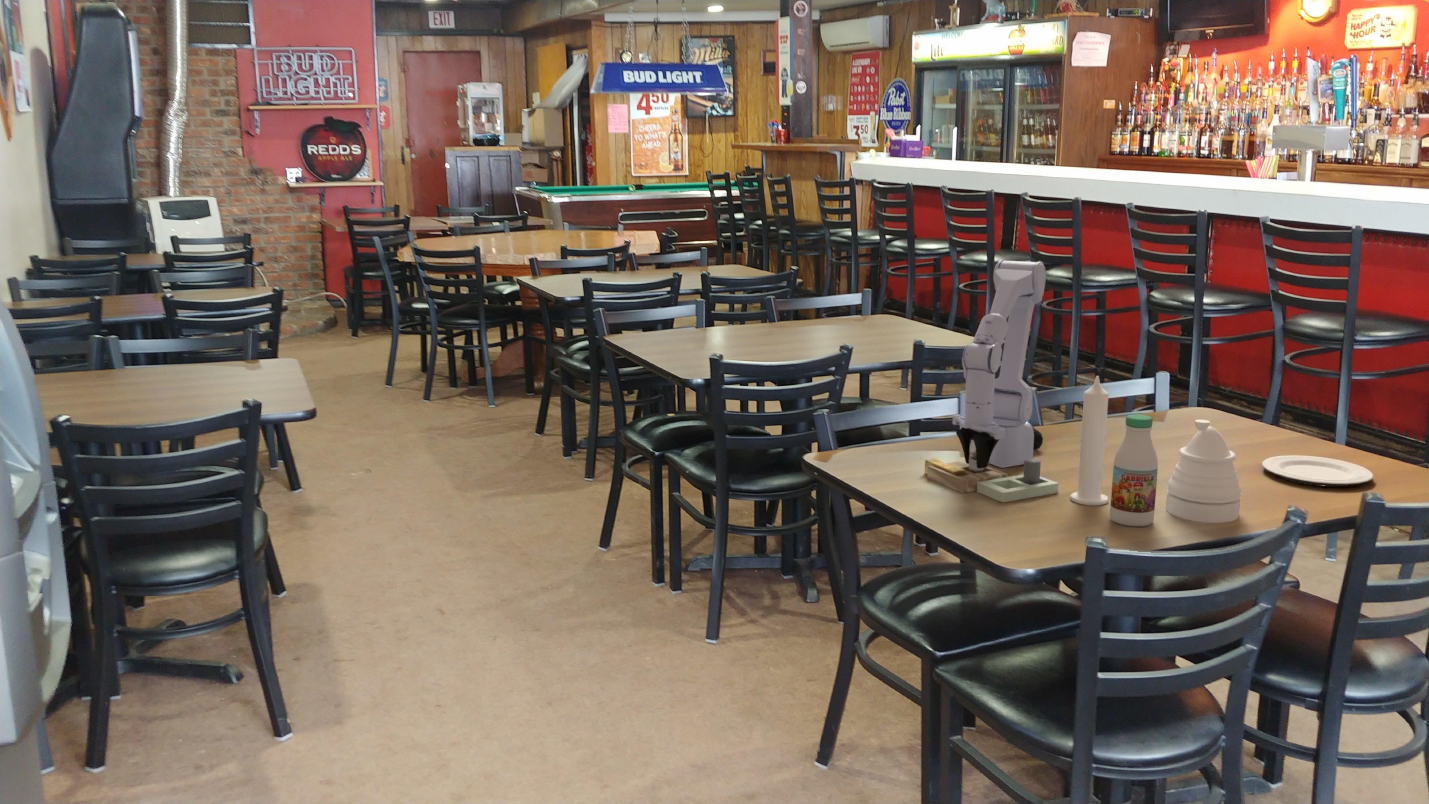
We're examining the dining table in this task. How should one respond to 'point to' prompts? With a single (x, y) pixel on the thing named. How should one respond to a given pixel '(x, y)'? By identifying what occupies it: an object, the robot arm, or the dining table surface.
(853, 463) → the dining table surface
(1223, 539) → the dining table surface
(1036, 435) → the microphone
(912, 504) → the dining table surface
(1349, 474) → the plate
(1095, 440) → the candle
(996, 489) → the rack
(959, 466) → the socket block
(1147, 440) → the milk bottle
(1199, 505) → the honey pot
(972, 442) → the glass jar
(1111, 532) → the dining table surface
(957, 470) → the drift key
